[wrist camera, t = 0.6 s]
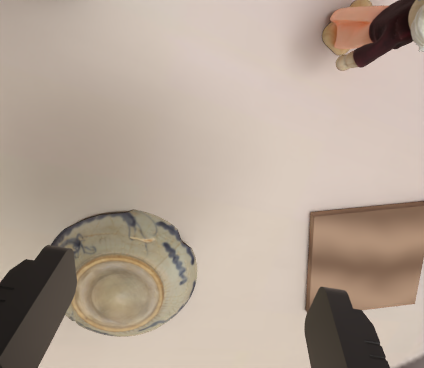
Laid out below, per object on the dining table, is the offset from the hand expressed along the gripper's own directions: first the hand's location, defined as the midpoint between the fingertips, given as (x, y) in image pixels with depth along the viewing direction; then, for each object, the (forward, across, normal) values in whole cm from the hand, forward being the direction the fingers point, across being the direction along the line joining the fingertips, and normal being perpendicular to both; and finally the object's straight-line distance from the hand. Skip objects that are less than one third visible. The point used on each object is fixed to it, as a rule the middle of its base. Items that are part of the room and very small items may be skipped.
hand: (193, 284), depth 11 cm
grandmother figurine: (+23, -9, -6) cm, 25 cm away
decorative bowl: (+16, +7, +18) cm, 25 cm away
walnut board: (+19, -18, +14) cm, 30 cm away
